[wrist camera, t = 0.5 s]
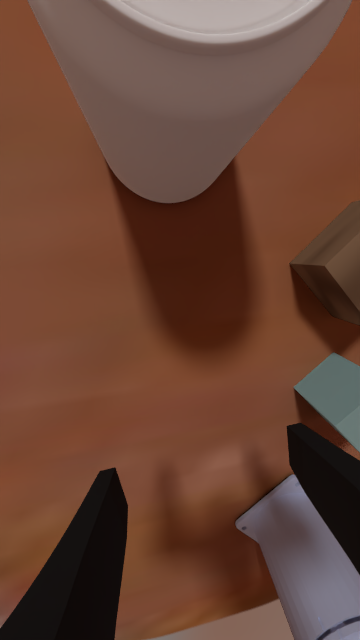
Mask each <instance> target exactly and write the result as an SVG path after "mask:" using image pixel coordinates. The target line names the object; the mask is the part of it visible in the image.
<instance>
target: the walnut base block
mask: <svg viewBox="0 0 360 640" xmlns="http://www.w3.org/2000/svg"><path fill="white" fill-rule="evenodd" d="M289 264H290V265H291V266H292V267H293V269H294V270H295V271H296V272H297V273H298V275H299V276H300V277H301V278H302V280H303V281H304V282H305V283H306V284H307V286H308V287H309V288H310V289H311V291H312V292H313V293H314V294H315V295H316V297H317V298H318V299H319V300H320V302H321V303H322V304H323V305H324V306H325V308H326V309H327V310H328V311H329V312H330V314H331V315H332V316H333V317H336V318H339V319H342V320H345V321H348V322H351V323H354V324H357V325H360V201H356V202H352V203H351V204H350V205H349V206H348V207H347V208H346V209H345V210H344V211H343V212H342V213H340V214H339V215H338V216H337V217H336V218H335V219H334V220H333V221H332V222H331V223H330V224H329V225H328V226H327V227H326V228H325V229H324V230H323V231H322V232H321V233H320V234H319V235H318V236H317V237H316V238H315V239H314V240H313V241H312V242H311V243H310V244H309V245H308V246H307V247H306V248H305V249H304V250H303V251H302V252H301V253H300V254H299V255H298V256H297V257H296V258H295V259H294V260H292V261H291V262H290V263H289Z"/></svg>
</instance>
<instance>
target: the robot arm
mask: <svg viewBox="0 0 360 640" xmlns="http://www.w3.org/2000/svg"><path fill="white" fill-rule="evenodd" d="M287 436H288V449H289V462H290V466H291V468H292V470H293V472H294V474H295V475H290V476H289V477H288V478H287V479H285V480H284V481H283V482H282V483H281V484H279V485H278V486H277V487H276V488H275V489H273V490H272V491H271V492H270V493H269V494H267V495H266V496H265V497H264V498H263V499H261V500H260V501H259V502H258V503H257V504H255V505H254V506H253V507H252V508H250V509H249V510H248V511H247V512H246V513H244V514H243V515H242V516H241V517H240V518H238V519H237V520H236V522H235V525H236V528H237V529H239V530H240V531H242V532H243V533H244V534H246V535H247V536H249V537H250V538H252V539H253V540H255V541H256V542H258V543H259V545H260V548H261V550H262V553H263V556H264V558H265V561H266V564H267V567H268V569H269V572H270V575H271V577H272V580H273V583H274V585H275V588H276V591H277V594H278V596H279V599H280V602H281V604H282V607H283V610H284V613H285V615H286V618H287V621H288V623H289V626H290V629H291V632H292V634H293V637H294V640H360V461H359V460H358V459H356V458H354V457H353V456H351V455H350V454H348V453H346V452H345V451H343V450H342V449H340V448H339V447H337V446H335V445H334V444H332V443H331V442H329V441H328V440H326V439H325V438H323V437H322V436H320V435H319V434H317V433H316V432H314V431H313V430H311V429H310V428H308V427H307V426H305V425H303V424H302V423H298V424H293V425H289V426H287ZM127 518H128V504H127V501H126V498H125V495H124V492H123V489H122V486H121V483H120V480H119V477H118V474H117V471H116V468H111V469H107V470H103V471H100V472H99V474H98V475H97V477H96V479H95V481H94V482H93V484H92V486H91V488H90V490H89V492H88V493H87V495H86V497H85V499H84V501H83V502H82V504H81V506H80V508H79V509H78V511H77V513H76V515H75V516H74V518H73V520H72V521H71V523H70V525H69V527H68V528H67V530H66V532H65V533H64V535H63V537H62V538H61V540H60V542H59V543H58V545H57V546H56V548H55V549H54V551H53V553H52V554H51V556H50V557H49V559H48V560H47V562H46V564H45V565H44V567H43V568H42V570H41V571H40V573H39V574H38V576H37V577H36V579H35V580H34V582H33V583H32V585H31V586H30V588H29V589H28V591H27V592H26V594H25V595H24V596H23V598H22V599H21V601H20V602H19V603H18V605H17V606H16V608H15V609H14V611H13V612H12V613H11V615H10V616H9V617H8V619H7V620H6V621H5V623H4V624H3V625H2V627H1V628H0V640H114V638H115V628H116V619H117V611H118V604H119V596H120V588H121V580H122V572H123V564H124V556H125V548H126V540H127Z"/></svg>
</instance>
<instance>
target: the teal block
mask: <svg viewBox="0 0 360 640" xmlns="http://www.w3.org/2000/svg"><path fill="white" fill-rule="evenodd" d="M294 388H295V390H296V391H297V392H298V393H299V394H300V395H301V396H302V397H303V398H304V399H305V400H306V401H307V402H308V403H309V404H310V405H311V406H312V407H313V408H314V409H315V410H316V411H317V412H318V413H319V414H320V415H321V416H322V417H323V418H324V419H325V420H326V421H327V422H328V423H329V424H330V425H331V426H332V427H333V428H334V429H335V430H336V431H338V432H339V433H340V434H341V435H342V436H343V437H344V438H345V439H346V440H347V441H348V442H349V443H350V444H351V445H352V446H353V447H354V448H355V449H356V450H357V451H358V452H360V366H358V365H356V364H354V363H352V362H351V361H349V360H347V359H345V358H343V357H341V356H339V355H338V354H336V353H334V352H333V353H332V354H331V355H330V356H329V357H327V358H326V359H325V360H324V361H323V362H322V363H321V364H320V365H318V366H317V367H316V368H315V369H314V370H313V371H312V372H310V373H309V374H308V375H307V376H306V377H305V378H304V379H303V380H301V381H300V382H299V383H298V384H297V385H296V386H295V387H294Z"/></svg>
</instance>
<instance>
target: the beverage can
mask: <svg viewBox="0 0 360 640" xmlns="http://www.w3.org/2000/svg"><path fill="white" fill-rule="evenodd" d="M27 1H28V3H29V5H30V7H31V9H32V11H33V13H34V15H35V17H36V19H37V21H38V23H39V25H40V27H41V29H42V31H43V33H44V35H45V37H46V39H47V41H48V43H49V46H50V48H51V50H52V52H53V54H54V56H55V58H56V60H57V62H58V64H59V66H60V68H61V70H62V72H63V74H64V76H65V78H66V80H67V82H68V84H69V86H70V88H71V90H72V92H73V94H74V96H75V98H76V100H77V102H78V104H79V107H80V109H81V111H82V113H83V115H84V117H85V119H86V121H87V123H88V125H89V127H90V129H91V131H92V133H93V135H94V137H95V139H96V141H97V143H98V145H99V147H100V149H101V151H102V153H103V155H104V157H105V159H106V161H107V163H108V165H109V166H110V168H111V170H112V171H113V173H114V174H115V175H116V176H117V178H118V179H119V180H120V181H121V182H122V183H123V184H124V185H125V186H126V187H127V188H129V189H130V190H131V191H133V192H134V193H136V194H137V195H139V196H141V197H143V198H146V199H148V200H151V201H155V202H160V203H177V202H182V201H186V200H189V199H191V198H193V197H195V196H197V195H199V194H200V193H202V192H203V191H205V190H206V189H207V188H208V187H209V186H210V185H211V184H212V183H213V182H214V181H215V180H216V179H217V177H218V176H219V175H220V174H221V173H222V171H223V170H224V169H225V168H226V167H227V165H228V164H229V163H230V162H231V161H232V160H233V158H234V157H235V156H236V155H237V154H238V152H239V151H240V150H241V149H242V148H243V146H244V145H245V144H246V143H247V142H248V140H249V139H250V138H251V137H252V136H253V134H254V133H255V132H256V131H257V130H258V129H259V127H260V126H261V125H262V124H263V123H264V121H265V120H266V119H267V118H268V117H269V115H270V114H271V113H272V112H273V111H274V109H275V108H276V107H277V106H278V105H279V104H280V102H281V101H282V100H283V99H284V98H285V96H286V95H287V94H288V93H289V92H290V90H291V89H292V88H293V87H294V86H295V84H296V83H297V82H298V81H299V80H300V79H301V77H302V76H303V75H304V74H305V73H306V71H307V70H308V69H309V68H310V67H311V65H312V64H313V63H314V62H315V60H316V59H317V58H318V57H319V55H320V54H321V53H322V51H323V50H324V49H325V47H326V46H327V44H328V43H329V41H330V40H331V38H332V36H333V35H334V33H335V32H336V30H337V28H338V27H339V25H340V23H341V21H342V19H343V18H344V16H345V14H346V12H347V10H348V8H349V6H350V4H351V2H352V0H27Z"/></svg>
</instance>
